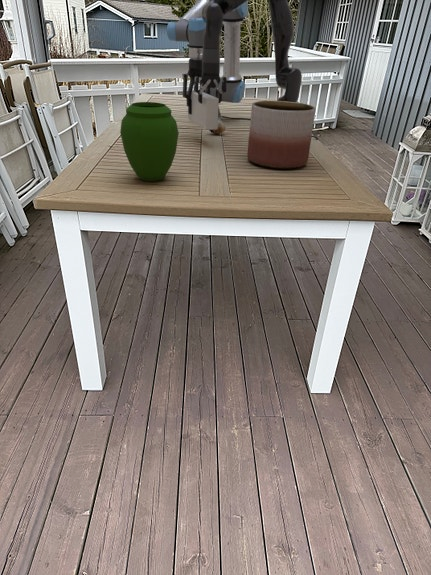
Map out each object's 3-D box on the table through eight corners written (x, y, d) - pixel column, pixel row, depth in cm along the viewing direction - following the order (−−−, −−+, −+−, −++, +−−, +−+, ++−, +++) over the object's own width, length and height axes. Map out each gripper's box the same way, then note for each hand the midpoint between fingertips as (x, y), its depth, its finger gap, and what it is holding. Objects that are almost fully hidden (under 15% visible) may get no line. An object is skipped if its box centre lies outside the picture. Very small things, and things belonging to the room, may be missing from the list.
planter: (316, 170, 164) (326, 111, 152) (255, 170, 160) (260, 110, 148) (295, 154, 185) (303, 101, 173) (241, 154, 181) (245, 99, 169)
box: (187, 118, 201) (187, 90, 194) (198, 118, 203) (199, 90, 196) (205, 129, 183) (206, 98, 176) (217, 129, 185) (218, 98, 178)
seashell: (224, 133, 216) (225, 117, 212) (226, 135, 212) (227, 119, 207) (206, 132, 215) (207, 116, 211) (208, 135, 210) (208, 118, 206)
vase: (131, 189, 135) (125, 110, 122) (118, 172, 150) (112, 100, 137) (186, 184, 142) (187, 109, 129) (169, 168, 157) (167, 99, 144)
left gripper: (179, 59, 179) (180, 115, 191) (219, 59, 185) (217, 114, 198) (174, 57, 184) (175, 112, 197) (213, 58, 191) (211, 111, 203)
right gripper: (197, 61, 166) (197, 105, 174) (230, 62, 170) (228, 104, 179) (191, 60, 171) (191, 102, 180) (223, 60, 176) (221, 101, 185)
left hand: (196, 113), depth 197 cm, fingers closed on box, 6 cm apart
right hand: (209, 103), depth 179 cm, fingers open, 8 cm apart
